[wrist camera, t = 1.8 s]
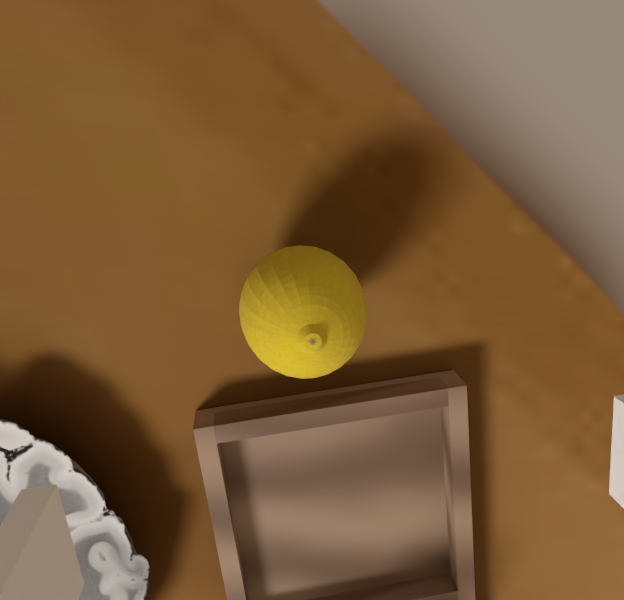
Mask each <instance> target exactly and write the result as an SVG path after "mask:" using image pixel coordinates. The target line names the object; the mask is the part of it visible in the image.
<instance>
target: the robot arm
mask: <svg viewBox="0 0 624 600" xmlns="http://www.w3.org/2000/svg"><path fill="white" fill-rule="evenodd" d="M609 494H610V495H611V496H612V497H613V498H614V499H615V500H616V501H617V502H618V503H619V504H620V505H621V506H622V507H623V508H624V395H619V396H614V408H613V427H612V446H611V466H610V485H609ZM83 585H84V580H83V577H82V573H81V570H80V566H79V563H78V559H77V555H76V552H75V548H74V545H73V541H72V538H71V534H70V530H69V527H68V523H67V520H66V516H65V513H64V509H63V505H62V502H61V498H60V495H59V491H58V488H57V484H54V485H48V486H41V487H35V488H29V489H22V490H21V491H20V493H19V494H18V496H17V498H16V499H15V501H14V503H13V504H12V506H11V508H10V510H9V511H8V513H7V515H6V516H5V518H4V520H3V521H2V523H1V525H0V600H79V597H80V594H81V591H82V588H83Z"/></svg>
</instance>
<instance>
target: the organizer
mask: <svg viewBox="0 0 624 600" xmlns="http://www.w3.org/2000/svg"><path fill="white" fill-rule="evenodd" d="M193 431H194V436H195V441H196V446H197V451H198V456H199V461H200V466H201V471H202V476H203V481H204V486H205V491H206V496H207V501H208V506H209V511H210V516H211V521H212V526H213V531H214V536H215V541H216V546H217V551H218V556H219V561H220V566H221V571H222V576H223V581H224V586H225V591H226V596H227V600H475V578H474V553H473V528H472V503H471V477H470V452H469V427H468V401H467V385H466V384H465V383H464V382H463V380H462V379H461V378H460V377H459V376H458V374H457V373H456V372H455V371H454V370H449V371H442V372H436V373H430V374H423V375H417V376H411V377H404V378H398V379H392V380H385V381H379V382H373V383H366V384H360V385H354V386H348V387H341V388H335V389H329V390H322V391H316V392H310V393H303V394H297V395H291V396H284V397H278V398H272V399H265V400H259V401H253V402H246V403H240V404H234V405H227V406H221V407H215V408H208V409H202V410H196V414H195V420H194V427H193Z"/></svg>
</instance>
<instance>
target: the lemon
mask: <svg viewBox="0 0 624 600" xmlns="http://www.w3.org/2000/svg"><path fill="white" fill-rule="evenodd" d="M239 314H240V322H241V328H242V330H243V333H244V335H245V338H246V340H247V342H248V345H249V346H250V347H251V349H252V350H253V351H254V353H255V354H256V355H257V357H258V358H259V359H260V360H261V361H262V362H264V363H265V364H266V365H267V366H269V367H270V368H271V369H273V370H274V371H277V372H279V373H281V374H283V375H286V376H290V377H295V378H301V379H305V378H317V377H320V376H323V375H327V374H330V373H331V372H333V371H335V370H337V369H338V368H340V367H342V366H343V365H344V364H345V363H346V362H347V361H348V360H349V359H350V358H351V357H352V356H353V354H354V353H355V351H356V350H357V348H358V347H359V345H360V343H361V340H362V337H363V334H364V331H365V328H366V316H367V307H366V302H365V297H364V292H363V289H362V287H361V285H360V283H359V281H358V279H357V277H356V275H355V274H354V273H353V271H352V270H351V269H350V268H349V267H348V266H347V265H346V263H345V262H344V261H342V260H341V259H339V258H338V257H336V256H335V255H333V254H332V253H330V252H329V251H326V250H323V249H320V248H317V247H314V246H302V245H297V246H291V247H285V248H282V249H280V250H278V251H275V252H273V253H271V254H269V255H268V256H267V257H265V258H264V259H263V260H261V261H260V262H259V263H258V264H257V265H256V266H255V268H254V269H253V270H252V272H251V273H250V274H249V275H248V277H247V280H246V282H245V284H244V287H243V289H242V292H241V298H240V305H239Z"/></svg>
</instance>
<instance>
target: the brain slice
mask: <svg viewBox="0 0 624 600" xmlns="http://www.w3.org/2000/svg"><path fill="white" fill-rule="evenodd" d="M54 484H57V488H58V491H59V495H60V498H61V502H62V505H63V509H64V513H65V516H66V520H67V523H68V527H69V530H70V534H71V538H72V541H73V545H74V548H75V552H76V555H77V559H78V563H79V566H80V570H81V573H82V577H83V580H84V585H83V588H82V591H81V594H80V597H79V600H146V595H147V590H148V584H149V582H148V579H147V578H148V575H149V570H150V567H149V564H148V561H147V559H146V558H145V557H143V556H142V555H141V554H137V553H136V551H135V549H134V546H133V541H132V539H131V537H130V535H129V533H128V531H127V529H126V526H125V524H124V522H123V521H122V519H121V518H120V517H118V516H117V515H116V514H115V513H114V512H113V510H109V509H107V507H106V506H105V497H104V494H103V493H102V491H101V489H100V488H99V487H98V486H97V485H96V483H95V482H94V481H93V480H92V479H91V477H90V476H89V475H88V474H87V473H86V472H85V471H84V470H83V469H82V468H81V467H80V466H79V465H78V464H77V463H76V462H74V461H73V460H72V459H71V458H70V457H69V456H68V455H67V454H66V453H65V452H63V451H62V450H61V449H59V448H58V447H57V446H55V445H53V444H52V443H50V442H48V441H46V440H44V439H40V438H35V437H34V436H33V435H32V434H31V433H30V432H29V431H28V430H26V429H25V428H23V427H21V426H20V425H18V424H16V423H13V422H10V421H6V420H3V419H0V525H1V523H2V521H3V520H4V518H5V516H6V515H7V513H8V511H9V510H10V508H11V506H12V504H13V503H14V501H15V499H16V498H17V496H18V494H19V493H20V491H21V490H22V489H29V488H35V487H41V486H48V485H54Z"/></svg>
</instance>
